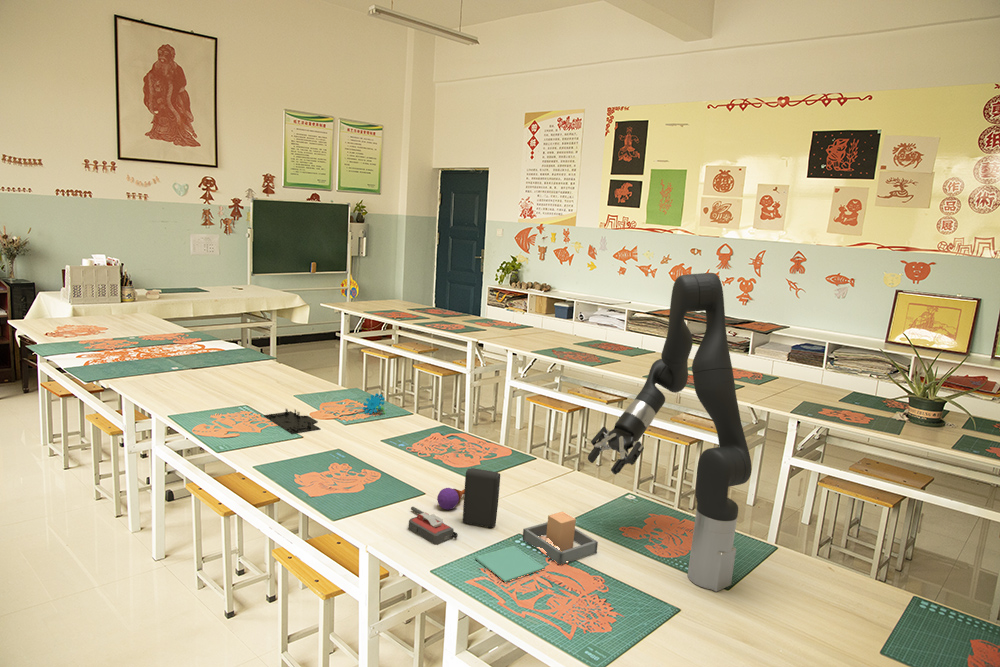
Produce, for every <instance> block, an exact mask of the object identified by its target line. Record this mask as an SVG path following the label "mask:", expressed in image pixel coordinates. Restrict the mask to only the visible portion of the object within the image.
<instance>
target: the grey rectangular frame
mask: <svg viewBox="0 0 1000 667" xmlns="http://www.w3.org/2000/svg"><path fill="white" fill-rule="evenodd" d="M547 523H548V521H547V522H543V523H540V524H536V525H532V526H530V527H526V528H523V531H522V539H523V540H522V541H524V542H525V541H526V542H525V543H527V542H528V543H529V544H528V543H527V544H528V545H530V544H531V545H533V546H535V547H540V548H543V549H544V550H545V551H546V552H547V553H546V554H547V555H548V556H549V557H550V558H551V559H550V558H549V557H548V558H549V559H550V560H552V559H553V560H555V561H556V562H557V563H556V562H555V561H554V562H555V563H556V564H557V565H559V564H560V565H559V566H561V564H562V565H565V564H566V563H565V562H566V561H571V562H574V561H576V560H579V559H582V558H586V557H589V556H591V555H594V554H595V555H596V554H597V553H598V546H599V541H597V540H596V539H594V538H592V537H591V536H589V535H587V534H585V533H584V532H582V531H580V530H579V529H577V528H576V527H575V533H574V543H577V544H578V546H573V548H571V549H568V550H565V551H562V552H561V551H560V550H558V549H557V548H555V547H554V546H552V545H551V544H549V543H548V542H546V539H543V538H542V536H541V535H543V536H545V535H546V534H547ZM538 536H539V537H538ZM531 545H530V546H531ZM533 546H532V547H533ZM553 560H552V561H553ZM564 563H565V564H564Z"/></svg>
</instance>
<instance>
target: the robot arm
mask: <svg viewBox="0 0 1000 667" xmlns="http://www.w3.org/2000/svg"><path fill="white" fill-rule="evenodd" d="M669 306H670V307H669V314H668V315H669V316H668V326H667V335H666V338H665V341H664V344H663V348H662V350H661V355H660V356H661V357H660V358H659V359H657V360H655V361H654V362H653V363H652V365H651V366H650V369H649V372H648V375H647V379H646V380H645V383H644V385H643V387H642V389H641V390H640V392H638V394H637V395H636V397H635V398H634V399H633V401H632V402H631V403H629V405H627V408H625V410H624V411H623V413H622V414H621V416H619V418H618V419H617V420H616V422H615V425H614V428H613V429H612V430H608V429H607V428H606V426H602V428H600V430H599V431H598V432H597V433H596V435H594V436H593V438H592V439H591V440H590V443H591V445H592V446H593V448H592V450H591V451H590V453H589V454H588V455H587V460H588V461H589V462H590V463H591V464H594V462H595V461H596V460H597V459H598V457H599V456H600V455H601V452H603V451H606V450H607V451H609V450H610V449H611V450H613V451H617V452H618V453H619V454H620V455H619V458H618V459H617V460H616V461H615V463H614V464H613V466H612V467H611V469H610V472H611V473H612V474H613V475H617V474H619V473H620V472H621V471H622V469H623V468H624V467H625V466H626V465H627V464H629V465H631V466H633V465H634V464H635V463H636V461H637V460H638V459H639V457H640V455H641V454H642V453H643V451H644V449H645V448H644V446H643V444H642V443H641V441H639V440H640V439H641V437H642V436H643V435H644V434H645V432H646V431H647V429H648V428H649V426H650V425H651V424H652V422H653V420H654V418H655V417H656V416H657V413H659V411H660V410H661V408H663V406H664V404H665V402H666V396H665V394H664V393H663V392H662V391H661V390H660V389H659V388H658V387H657V386H656V384H657V385H659V386H660V387H662V388H663V389H666V390H667V391H669V392H671V393H679V392H682V391H683V390H684V389H685V388H686V386H687V383H688V380H689V367H688V365H689V361H688V360H689V357H690V355H691V351H692V348H693V344H694V343H693V342H694V341H693V335H692V333H691V330H690V328H689V326H688V324H686V323H687V322H686V321H685V317H686V315H687V313H691V312H692V313H693V312H694V313H695V312H705V317H706V321H705V332H704V335H703V338H702V340H701V342H700V343H699V344H700V345H699V346H698V349H697V350H696V353H695V355H694V358H693V360H692V364H691V371H692V373H691V374H692V379H693V385H694V391H695V395H696V397H697V399H698V400H699V402H700V404H701V405H702V406H703V409H705V411H706V412H707V414H708V415H709V418H711V420H712V422H713V424H714V427H715V429H716V433H717V439H718V446H717V447H710V448H707V449H705V450H704V451H702V452H701V454H700V456H699V458H698V462H697V466H696V467H697V469H696V481H695V491H694V492H695V494H694V495H695V499H696V511H695V518H694V519H695V520H694V525H693V534H692V540H691V546H690V555H689V561H688V562H689V563H688V570H687V578H688V579H689V580H690V582H692V583H693V584H695V585H696V586H698V587H701V588H703V589H706V590H707V589H708V590H712V591H714V592H716V593H717V592H719V591H721V590H723V589H725V588H728V587H730V586H731V585H732V582H733V581H732V580H733V573H734V568H735V560H736V554H737V548H736V547H735V546H734V542H735V533H736V528H737V522H738V515H739V505H738V504H737V503H736V501H735V500H733V499H731V498H730V497H728V494H729V488H730V487H733V486H741V485H744V484H745V483H747V482H748V481H749V479H750V478H751V475H752V467H753V466H752V460H751V454H750V451H749V450H750V449H749V446H748V443H747V440H746V436H745V432H744V427H743V424H742V420H741V414H740V409H739V404H738V398H737V393H736V384H735V383H736V382H735V378H734V377H735V376H734V371H733V365H732V364H733V363H732V359H731V355H730V354H731V353H730V350H729V342H728V335H727V326H726V312H725V298H724V290H723V285H722V281H721V279H720V277H719V276H718V275H717V274H716V273H714V272H703V273H691V274H690V273H687V274H682V275H679V276H677V278H675V280H674V283H673V285H672V291H671V297H670V305H669ZM630 449H631V450H630Z"/></svg>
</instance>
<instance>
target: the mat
mask: <svg viewBox="0 0 1000 667" xmlns="http://www.w3.org/2000/svg"><path fill="white" fill-rule="evenodd" d="M475 559H476V560H477V561H476V560H475ZM474 560H475V561H476V562H478V563H479V562H480V563H481V564H482V565H481V564H480V563H479V564H480V565H481V566H483V565H484V566H485V567H486V568H485V567H484V566H483V567H484V568H485V569H487V568H488V569H489V570H491V571H492V572H493V573H494V574H496V575H497V576H498V577H500V578H501V579H502V580H504V582H507V581H510V580H512V579H516V578H518V577H521V576H524V575H527V574H530V573H533V572H536V571H539V570H542V569H545V570H546V566H544V565H542V564H541V563H540V562H538V561H536V559H534V558H532V557H531V556H529V555H528V554H526V553H525V552H524V551H523V550H521V549H520V548H518V547H517V546H515V545H511V546H508V547H505V548H501V549H498V550H494V551H491V552H488V553H485V554H482V555H481V554H480V555H478V556H475V557H474ZM488 569H487V570H488ZM489 570H488V571H489ZM542 571H543V570H542ZM492 572H491V573H492ZM539 572H540V571H539ZM493 573H492V574H493ZM536 573H537V572H536ZM494 574H493V575H494ZM533 574H534V573H533ZM497 576H496V577H497ZM498 577H497V578H498ZM502 580H501V581H502ZM516 580H517V579H516ZM504 582H503V583H504ZM510 582H511V581H510ZM507 583H508V582H507Z"/></svg>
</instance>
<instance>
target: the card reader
mask: <svg viewBox="0 0 1000 667" xmlns="http://www.w3.org/2000/svg"><path fill="white" fill-rule="evenodd" d="M500 484H501V473H500V472H498V471H492V470H487V469H481V468H475V467H471V468H467V470H466V471H465V481H464V489H465V490H464V489H463V490H464V495H463V506H462V508H463V509H462V522H463V523H465V524H468V525H474V526H479V527H483V528H484V527H485V528H488V529H489V528H490V529H491V528H495V527H496V523H497V516H498V509H499V497H500V496H499V495H500V486H501V485H500Z"/></svg>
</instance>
